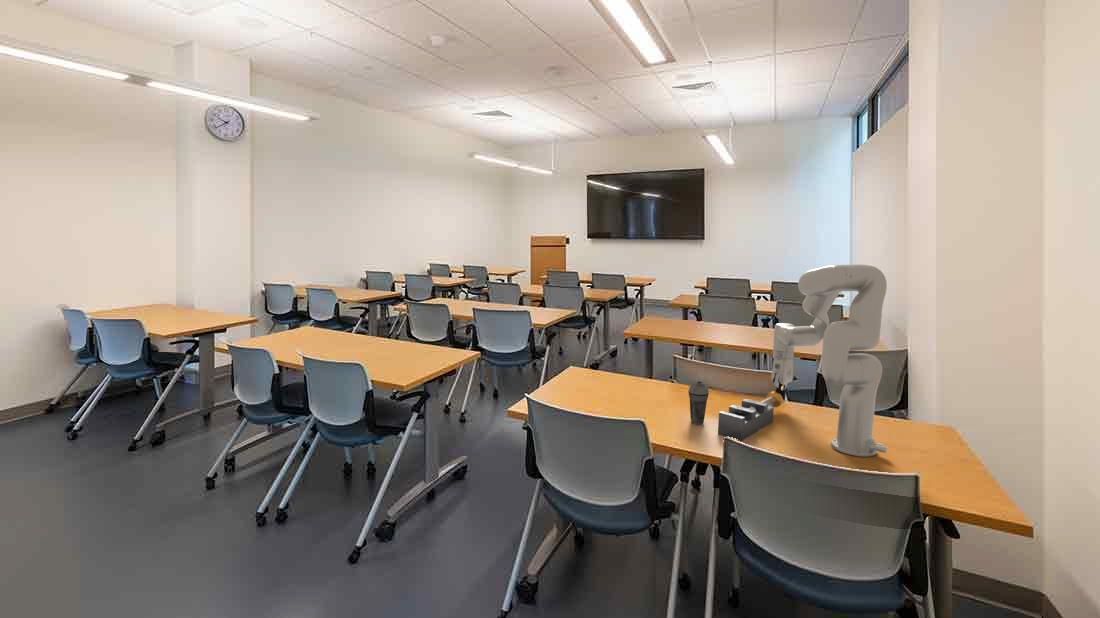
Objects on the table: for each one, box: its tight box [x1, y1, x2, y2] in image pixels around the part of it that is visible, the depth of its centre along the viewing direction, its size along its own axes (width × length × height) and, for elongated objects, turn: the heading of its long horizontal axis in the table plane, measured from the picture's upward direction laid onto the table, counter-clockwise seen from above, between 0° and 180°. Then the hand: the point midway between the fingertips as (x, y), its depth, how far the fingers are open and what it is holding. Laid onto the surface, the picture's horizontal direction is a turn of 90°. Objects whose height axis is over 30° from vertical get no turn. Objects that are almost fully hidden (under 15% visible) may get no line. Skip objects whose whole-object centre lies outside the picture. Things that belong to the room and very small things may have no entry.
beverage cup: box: [688, 370, 710, 426], centre depth 181 cm, size 7×7×20 cm
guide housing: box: [717, 398, 775, 442], centre depth 177 cm, size 8×26×8 cm, turn 134°
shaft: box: [742, 390, 784, 417], centre depth 185 cm, size 6×25×6 cm, turn 134°
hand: (780, 399), depth 197 cm, fingers closed
